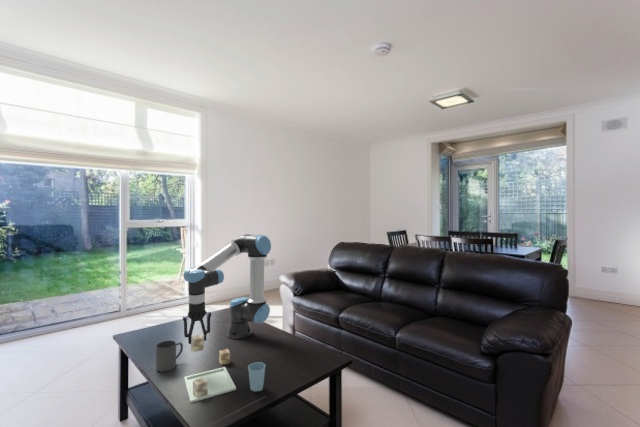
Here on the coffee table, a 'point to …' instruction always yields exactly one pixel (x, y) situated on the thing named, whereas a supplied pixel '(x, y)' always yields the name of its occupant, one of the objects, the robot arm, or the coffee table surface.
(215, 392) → the tray
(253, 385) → the cup
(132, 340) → the coffee table surface
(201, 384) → the maple block
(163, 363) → the mug
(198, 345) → the beech block
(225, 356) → the oak block
